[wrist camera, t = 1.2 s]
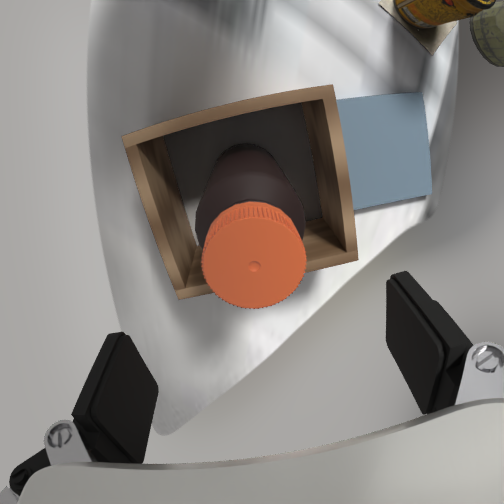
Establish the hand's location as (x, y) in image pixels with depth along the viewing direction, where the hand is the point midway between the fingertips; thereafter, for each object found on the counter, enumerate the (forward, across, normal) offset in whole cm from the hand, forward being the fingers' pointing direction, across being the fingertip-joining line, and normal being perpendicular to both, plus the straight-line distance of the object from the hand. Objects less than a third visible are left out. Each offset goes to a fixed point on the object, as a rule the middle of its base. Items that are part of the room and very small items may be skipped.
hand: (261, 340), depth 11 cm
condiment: (+25, -24, -17) cm, 38 cm away
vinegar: (+25, 0, -1) cm, 25 cm away
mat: (+25, -16, -1) cm, 29 cm away
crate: (+25, 0, -1) cm, 25 cm away
